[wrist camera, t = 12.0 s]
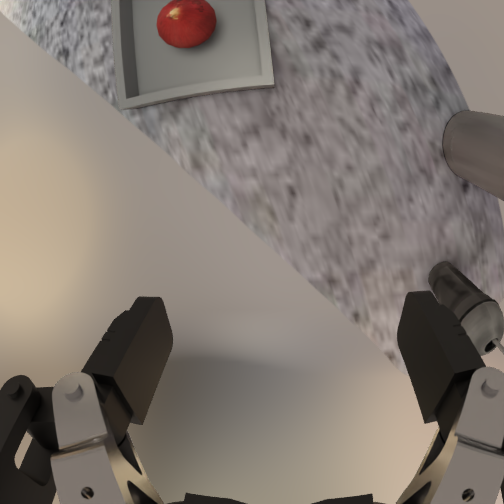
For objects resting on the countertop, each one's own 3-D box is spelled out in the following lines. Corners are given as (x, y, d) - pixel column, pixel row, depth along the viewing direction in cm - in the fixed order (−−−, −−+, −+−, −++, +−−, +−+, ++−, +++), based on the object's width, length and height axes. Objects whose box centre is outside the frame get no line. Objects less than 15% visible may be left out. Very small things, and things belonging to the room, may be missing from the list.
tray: (259, -33, 22) (257, -49, 18) (274, 87, 29) (274, 84, 25) (127, -5, 24) (111, -15, 20) (136, 108, 31) (119, 110, 27)
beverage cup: (411, 287, 39) (469, 395, 21) (437, 245, 36) (517, 342, 18) (443, 301, 40) (500, 397, 22) (468, 262, 37) (541, 351, 19)
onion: (175, 8, 24) (148, -15, 17) (225, 8, 24) (211, -18, 17) (166, 53, 27) (137, 40, 20) (217, 54, 27) (200, 39, 20)
